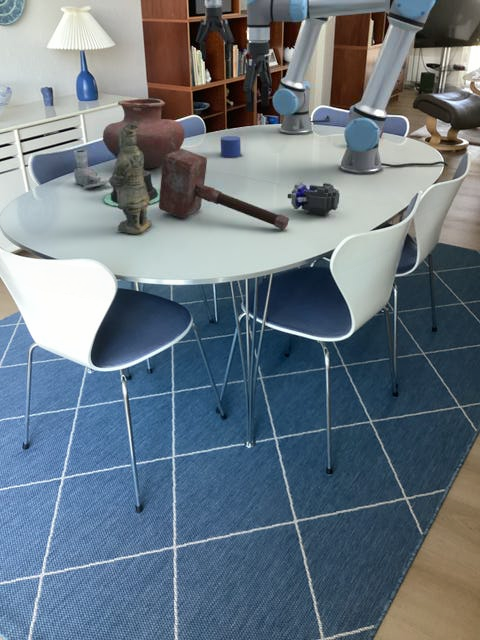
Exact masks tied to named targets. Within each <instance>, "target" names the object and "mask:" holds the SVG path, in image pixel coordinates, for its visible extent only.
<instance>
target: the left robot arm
mask: <svg viewBox="0 0 480 640" xmlns="http://www.w3.org/2000/svg"><path fill="white" fill-rule="evenodd" d="M204 6H205V7H204V8H205V9H204V15H205V18H206V19H205V18H201V19H200V25H199V28H198V31H197V34H196V37H195V38H196V39H195V42H196V43H198V44H199V52H200V53H201V54H200V56H201V60H207V43H206V40H207V38H208V37H209V35H210V33H211V32H213V31H215V32H217V33H218V34H219V35H220V37H221V39H222V40H223V41H224V45H223V46H224V47H223V49H224V62H225V61H230V60H231V58H230V57H231V55H230V53H231V50H232V49H231V48H232V47H231V44H233V43H235V39H234V35H233V34H232V31H231V27H230V26H229V20H228V19H227V18H225V19H223V8H222V6H223V0H204ZM329 18H330V17H319V18H309V19H305V20H304V21H301V24H300V28H299V30H298V34H297V37H296V40H295V44H294V47H293V51H292V54H291V57H290V61H289V64H288V68H287V70H286V73H285V76H284V77H283V78H281V79H280V82H279V85H278V89H277V90H276V91H275V92H274V94H273V97H272V106H273V109H274V110H275V112H277V113H278V114H279V115H282V116H283V119H282V122H281V125H280V133H282V134H284V135H293V136H294V135H295V136H298V135H299V136H300V135H308V134H310V133H312V132H313V126H312V123H324V122H329V121H330V116H329V115H326V119H322V120H320V119H318V120H316V119H315V120H311V119H310V98H311V97H310V96H311V95H310V94H311V84H310V82H309V81H305V80H306V77H307V74H308V71H309V69H310V65H311V62H312V59H313V55H314V53H315V49H316V46H317V43H318V40H319V37H320V33H321V31H322V27H323V25H325V24H326V23H328V21H329Z"/></svg>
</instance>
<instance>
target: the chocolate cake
mask: <svg viewBox="0 0 480 640" xmlns="http://www.w3.org/2000/svg"><path fill="white" fill-rule="evenodd" d="M113 175H114V171H112V173H111V176H113ZM143 178H144V182H145V184H146V188H147V192H148V195H149V197H150V204H154V203H157V202H159V198H160V188H156V187H154V185H153V182H152V174H151V172H149V171H148V170H146V169H145V168H143ZM103 200H104V202H105V203H106V204H108V205H109V206H115V207H118V202H117V192H116V189H115V188H114V187H112V191H111V193H108V194H107V195H106V196H104V198H103ZM150 204H149V205H150Z"/></svg>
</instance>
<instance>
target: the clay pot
mask: <svg viewBox="0 0 480 640" xmlns="http://www.w3.org/2000/svg"><path fill="white" fill-rule="evenodd" d="M165 104H166V102H165V101H163V100H162V99H159V98H132V99H130V98H129V99H122V100H118V102H117V105H118V106H121V108H122V110H123V115H124V117H123V119H122V120H121V121H117V122H112V123H109V124H107V125H106V126H105V128H104V129H103V131H102V141H103V143H104V145H105V147H106V149H107V150H108V151H109V152H110V153H111V154H112V156H114V157H115V158H116V159H117V156H118V154H119V151H120V147H119V140H118V138H119V133H120V130H121V129H123V128H124V127H125V126H126V125H127V124H128V123H131V122H133V121H137V122H138V123H139V127H138V130H137V131H136V138H137V143H136V146H137V147H138V149H139V150H141V151H142V153H143V156H144V166H143V169H155V168H158V167H161V166H163V158H164V156H165V155H167V154H170V153H172V152H174V151H177V150H179V149H182V146H183V143H184V141H185V137H186V134H185V129H184V127H183V126H182V124H181V123H180V122H178V120H174V119H168V118H167V119H165V118H163V119H162V110H163V107H164V106H165Z"/></svg>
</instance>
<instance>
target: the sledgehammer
mask: <svg viewBox="0 0 480 640" xmlns="http://www.w3.org/2000/svg"><path fill="white" fill-rule="evenodd" d="M207 164H208V159H207V158H206V157H205V156H203V155H200V154H197V153H195V152H193V151H189V150H186V149H184V148H180V149H179V150H177V151H174V152H172V153H170V154H167V155H165V156H164V158H163V165H161V166H162V167H161V176H160V187H159V190H160V198H159V200H158V208H159V210H160V211H162V212H165V213H168V214H170V215H173V216H174V217H177V218H180V219H182V220H185V219H187V218H188V217H190V216H192V215H193V214H195V213H197V212H198V211H199V210H200V209H201V207H202V201H203V200H204V201H207V202H209V203H213V204H215V205H220V206H223V207H225V208H228V209H231V210H233V211H236V212H239V213H241V214H243V215H245V216H248V217H252V218H255V219H257V220H260V221H262V222H264V223H267V224H270V225H273V226H274V228H276V229H280V230H282V231H285V230H286V228H287V227H288V224H289V221H290V218H289V217H288V216H286V215H283V214H281V213H279V214H277V213H275V212H273V211H269V210H267V209H265V208H262V207H259V206H256V205H254V204H251V203H248V202H246V201H244V200H242V199H238V198H236V197H233V196H231V195H228V194H225V193H223V192H222V191H220V190H218V189H215V188H214V187H211V186H208V185H205V181H206V175H207Z"/></svg>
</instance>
